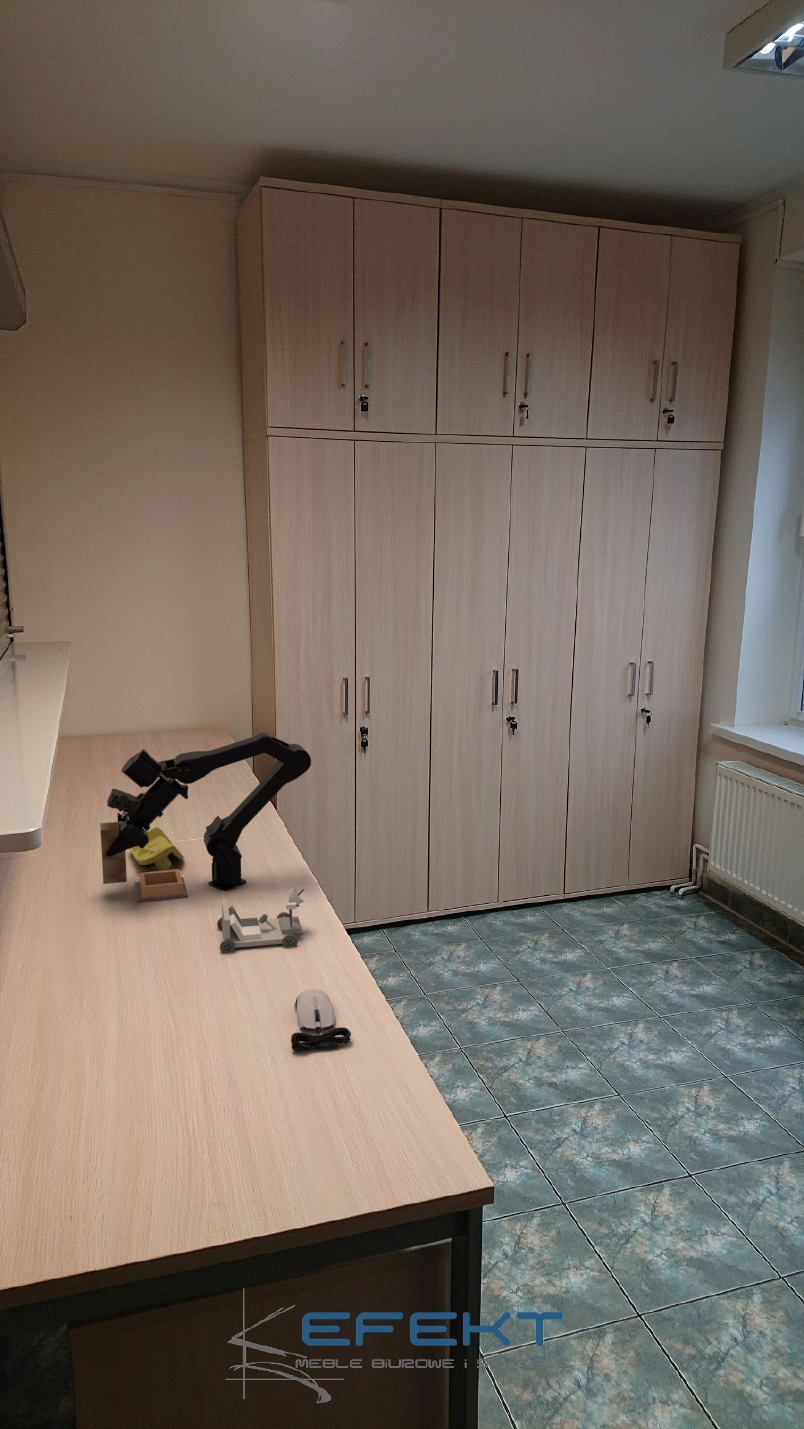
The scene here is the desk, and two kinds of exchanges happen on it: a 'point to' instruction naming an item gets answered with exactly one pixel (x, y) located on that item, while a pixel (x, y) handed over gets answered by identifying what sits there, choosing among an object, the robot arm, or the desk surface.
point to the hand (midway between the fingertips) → (106, 851)
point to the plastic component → (156, 850)
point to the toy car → (260, 927)
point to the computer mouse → (317, 1022)
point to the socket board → (160, 886)
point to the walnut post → (117, 863)
